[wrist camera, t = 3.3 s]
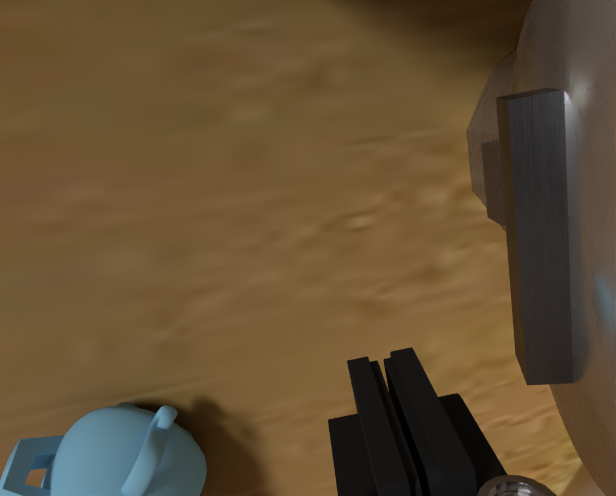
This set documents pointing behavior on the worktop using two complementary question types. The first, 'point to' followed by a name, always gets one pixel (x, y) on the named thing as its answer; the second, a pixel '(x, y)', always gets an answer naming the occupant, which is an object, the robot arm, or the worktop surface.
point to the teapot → (111, 457)
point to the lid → (565, 217)
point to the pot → (490, 141)
